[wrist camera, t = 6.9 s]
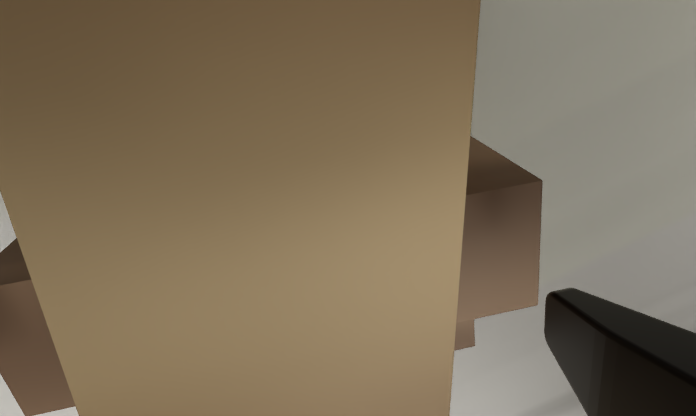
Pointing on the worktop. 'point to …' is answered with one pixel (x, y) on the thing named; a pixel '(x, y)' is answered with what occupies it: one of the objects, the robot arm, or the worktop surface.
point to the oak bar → (242, 199)
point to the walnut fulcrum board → (473, 298)
